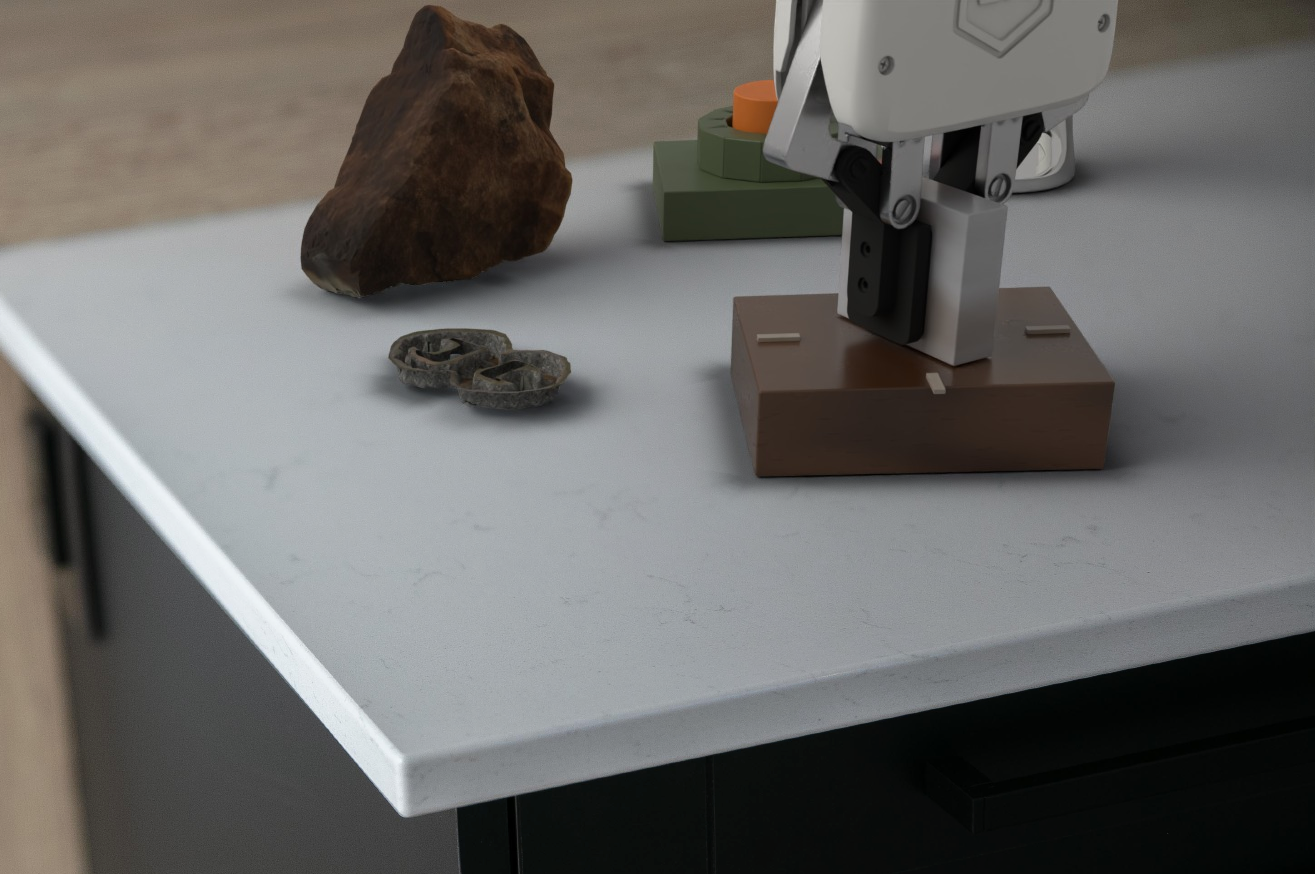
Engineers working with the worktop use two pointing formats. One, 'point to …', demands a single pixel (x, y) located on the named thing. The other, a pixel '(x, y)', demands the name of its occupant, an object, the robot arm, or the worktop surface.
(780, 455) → the block
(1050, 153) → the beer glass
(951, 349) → the tap handle
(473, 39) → the decorative rock
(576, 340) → the worktop surface
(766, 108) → the button
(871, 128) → the robot arm
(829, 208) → the button box
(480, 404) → the corroded twin loop
